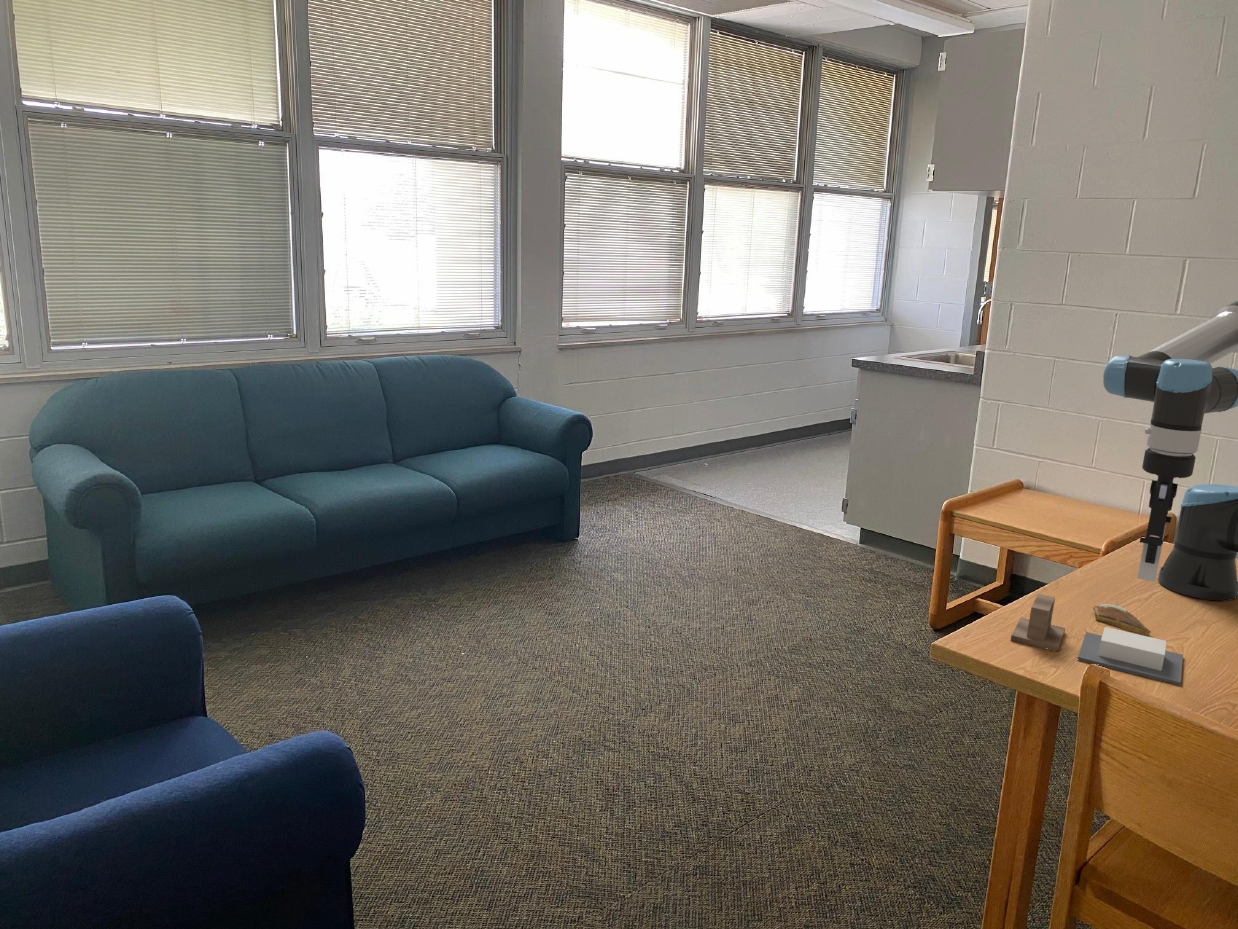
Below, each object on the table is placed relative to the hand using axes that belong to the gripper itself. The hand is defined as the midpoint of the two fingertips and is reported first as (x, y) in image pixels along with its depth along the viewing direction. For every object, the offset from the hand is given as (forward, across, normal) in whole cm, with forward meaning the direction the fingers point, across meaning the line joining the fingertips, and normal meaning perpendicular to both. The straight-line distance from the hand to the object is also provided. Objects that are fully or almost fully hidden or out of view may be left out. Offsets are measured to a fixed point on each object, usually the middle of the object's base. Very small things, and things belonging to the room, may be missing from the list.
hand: (1148, 567), depth 163 cm
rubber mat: (+18, 0, 0) cm, 18 cm away
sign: (+19, -28, -5) cm, 34 cm away
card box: (+17, 0, 0) cm, 17 cm away
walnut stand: (+17, 0, -16) cm, 24 cm away
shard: (+18, -18, -3) cm, 26 cm away
